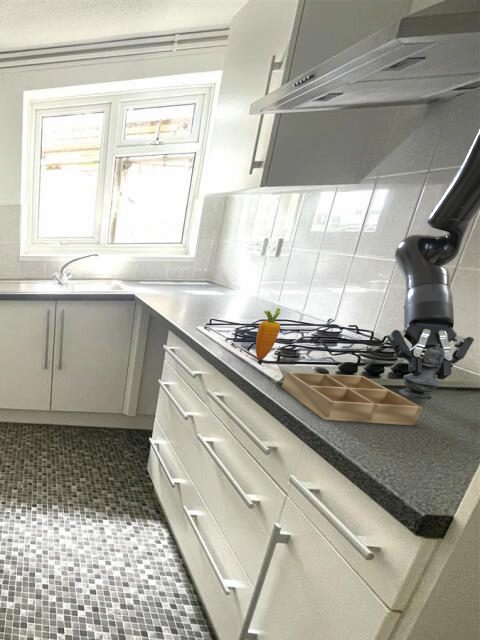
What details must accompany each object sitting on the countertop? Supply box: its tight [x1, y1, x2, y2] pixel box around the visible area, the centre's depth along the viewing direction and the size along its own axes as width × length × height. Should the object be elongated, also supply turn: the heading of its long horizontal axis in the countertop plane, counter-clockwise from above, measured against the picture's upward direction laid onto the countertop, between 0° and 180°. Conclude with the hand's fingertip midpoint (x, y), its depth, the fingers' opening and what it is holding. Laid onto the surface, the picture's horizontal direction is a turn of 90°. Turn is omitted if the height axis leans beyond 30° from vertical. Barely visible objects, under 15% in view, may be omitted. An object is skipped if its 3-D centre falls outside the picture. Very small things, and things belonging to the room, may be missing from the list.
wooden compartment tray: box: [281, 371, 424, 426], centre depth 92 cm, size 16×16×4 cm
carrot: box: [255, 307, 281, 362], centre depth 115 cm, size 5×5×15 cm
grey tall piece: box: [398, 344, 445, 400], centre depth 91 cm, size 6×6×12 cm
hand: (429, 376), depth 90 cm, fingers closed on grey tall piece, 3 cm apart
